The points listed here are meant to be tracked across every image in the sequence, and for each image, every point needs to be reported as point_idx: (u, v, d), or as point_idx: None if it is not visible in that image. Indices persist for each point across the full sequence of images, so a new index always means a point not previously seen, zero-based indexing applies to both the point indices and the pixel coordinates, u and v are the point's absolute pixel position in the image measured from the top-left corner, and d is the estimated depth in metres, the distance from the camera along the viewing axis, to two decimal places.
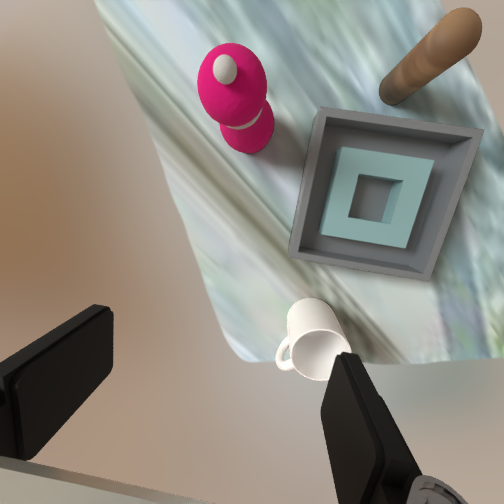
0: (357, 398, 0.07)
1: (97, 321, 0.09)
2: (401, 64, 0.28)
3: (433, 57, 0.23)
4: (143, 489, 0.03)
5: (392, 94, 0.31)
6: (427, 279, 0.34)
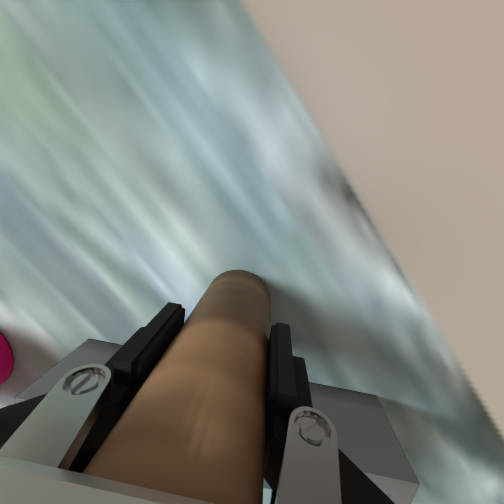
0: (273, 355, 0.08)
1: (177, 317, 0.10)
2: None
3: None
4: (143, 489, 0.03)
5: None
6: None
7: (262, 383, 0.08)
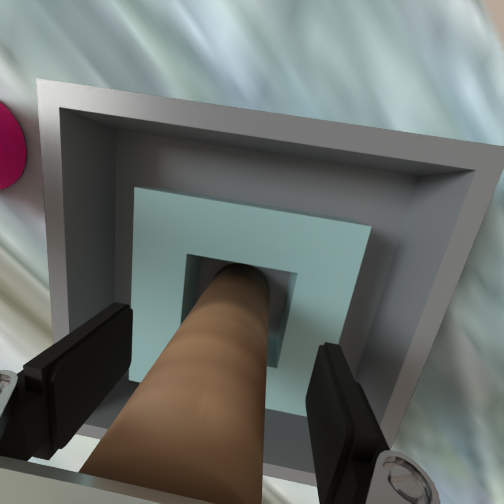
0: (334, 383, 0.08)
1: (119, 318, 0.09)
2: None
3: None
4: (143, 489, 0.03)
5: None
6: None
7: (263, 354, 0.09)
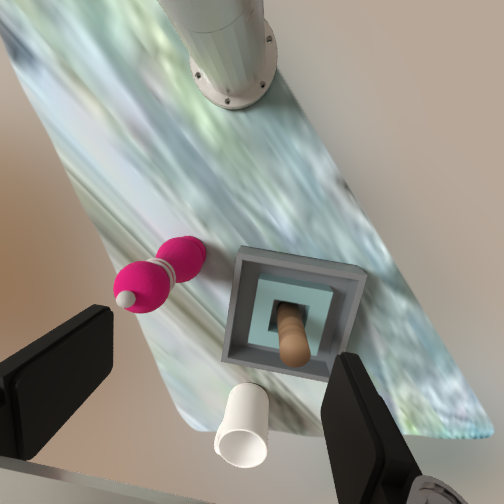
0: (357, 398, 0.07)
1: (97, 321, 0.09)
2: (278, 326, 0.37)
3: None
4: (143, 489, 0.03)
5: None
6: None
7: (304, 329, 0.35)
